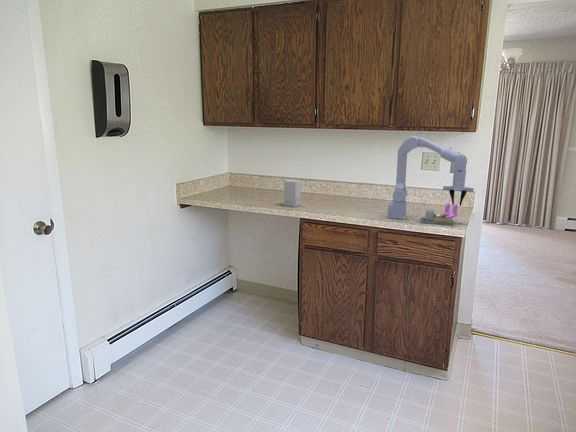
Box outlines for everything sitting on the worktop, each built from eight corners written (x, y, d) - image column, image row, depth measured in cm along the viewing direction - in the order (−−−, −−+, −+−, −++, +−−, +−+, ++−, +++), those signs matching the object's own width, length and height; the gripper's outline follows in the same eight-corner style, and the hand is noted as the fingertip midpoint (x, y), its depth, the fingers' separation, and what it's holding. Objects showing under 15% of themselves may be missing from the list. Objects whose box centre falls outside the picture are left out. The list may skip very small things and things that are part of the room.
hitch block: (420, 221, 229) (421, 211, 228) (421, 218, 234) (422, 209, 233) (446, 223, 224) (446, 213, 223) (446, 220, 230) (447, 211, 229)
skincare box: (300, 205, 265) (301, 180, 262) (295, 207, 260) (295, 181, 256) (289, 204, 270) (289, 179, 266) (283, 205, 264) (283, 180, 261)
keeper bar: (433, 220, 223) (433, 217, 223) (433, 220, 224) (434, 217, 224) (452, 222, 220) (452, 219, 219) (452, 222, 221) (452, 219, 220)
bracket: (446, 214, 246) (447, 202, 245) (456, 215, 243) (457, 203, 242) (439, 218, 236) (440, 205, 235) (449, 219, 233) (451, 207, 231)
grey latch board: (420, 222, 225) (420, 215, 224) (422, 218, 236) (422, 211, 235) (453, 225, 219) (453, 218, 218) (453, 220, 230) (454, 213, 229)
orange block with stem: (432, 219, 227) (432, 213, 226) (432, 217, 231) (433, 211, 231) (445, 220, 225) (446, 214, 224) (446, 218, 229) (446, 213, 228)
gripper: (443, 178, 219) (441, 205, 222) (474, 180, 214) (472, 207, 217) (444, 177, 226) (441, 202, 229) (474, 178, 221) (471, 205, 224)
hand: (456, 205), depth 224 cm, fingers open, 3 cm apart
